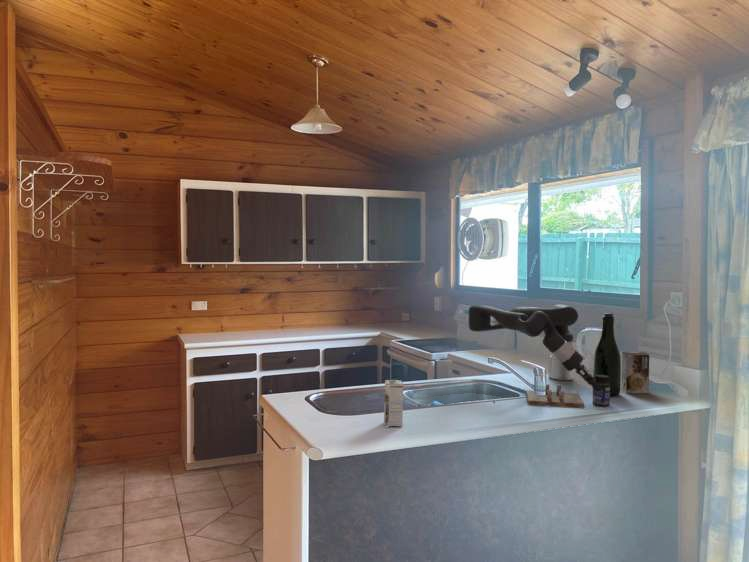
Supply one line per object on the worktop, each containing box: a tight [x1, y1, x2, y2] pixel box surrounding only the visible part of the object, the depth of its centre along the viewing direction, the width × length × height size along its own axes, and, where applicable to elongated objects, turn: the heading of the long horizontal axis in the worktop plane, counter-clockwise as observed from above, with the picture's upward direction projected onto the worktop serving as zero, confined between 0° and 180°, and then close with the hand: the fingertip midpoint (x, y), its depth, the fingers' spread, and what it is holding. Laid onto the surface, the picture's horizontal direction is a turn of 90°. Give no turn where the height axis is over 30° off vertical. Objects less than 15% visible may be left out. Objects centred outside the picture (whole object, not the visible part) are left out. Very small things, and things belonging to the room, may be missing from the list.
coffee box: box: [620, 351, 650, 394], centre depth 243 cm, size 9×6×16 cm
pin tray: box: [525, 383, 585, 409], centre depth 228 cm, size 20×16×5 cm
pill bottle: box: [592, 375, 611, 408], centre depth 223 cm, size 6×6×11 cm
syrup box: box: [383, 379, 404, 427], centre depth 196 cm, size 6×6×14 cm
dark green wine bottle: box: [592, 312, 622, 398], centre depth 238 cm, size 10×10×33 cm
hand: (597, 387), depth 223 cm, fingers open, 8 cm apart
